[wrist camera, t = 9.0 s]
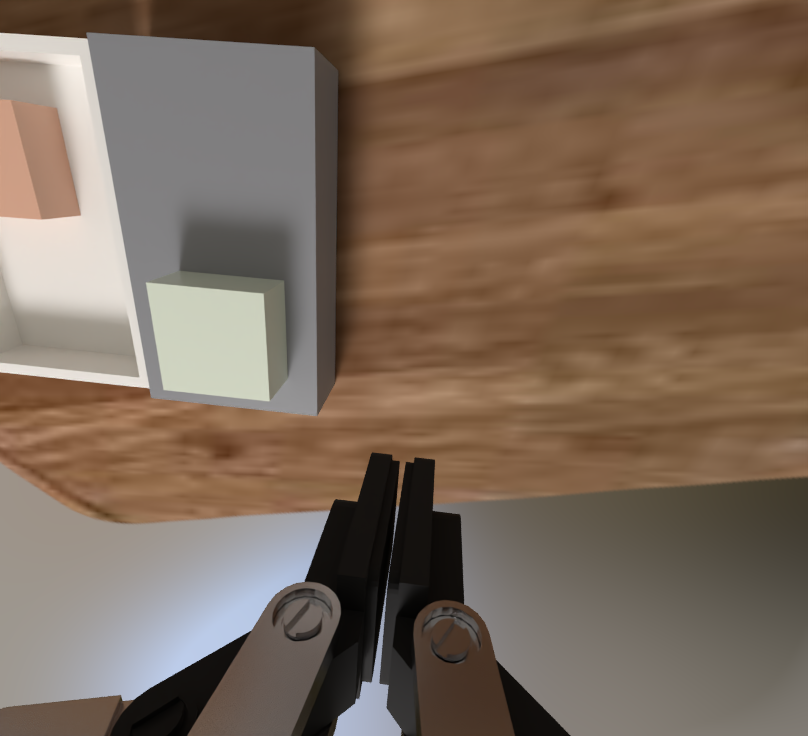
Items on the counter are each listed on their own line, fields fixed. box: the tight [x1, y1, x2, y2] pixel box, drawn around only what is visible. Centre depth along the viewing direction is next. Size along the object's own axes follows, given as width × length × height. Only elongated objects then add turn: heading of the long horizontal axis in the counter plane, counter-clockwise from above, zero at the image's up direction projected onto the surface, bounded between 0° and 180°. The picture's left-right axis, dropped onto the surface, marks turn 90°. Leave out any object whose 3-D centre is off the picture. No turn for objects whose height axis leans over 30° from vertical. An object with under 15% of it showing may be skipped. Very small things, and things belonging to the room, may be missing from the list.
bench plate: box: [86, 32, 338, 416], centre depth 22 cm, size 16×9×4 cm, turn 176°
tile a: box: [0, 99, 81, 220], centre depth 22 cm, size 5×5×2 cm
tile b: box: [146, 271, 288, 401], centre depth 20 cm, size 5×5×2 cm
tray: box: [0, 33, 149, 388], centre depth 23 cm, size 16×10×3 cm, turn 176°
